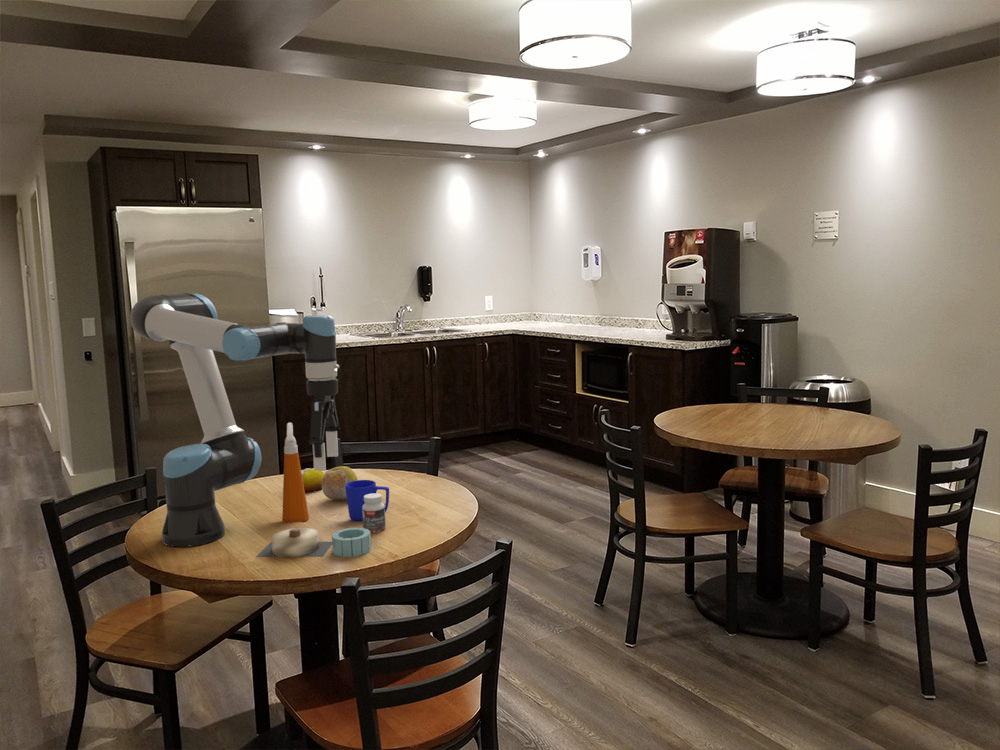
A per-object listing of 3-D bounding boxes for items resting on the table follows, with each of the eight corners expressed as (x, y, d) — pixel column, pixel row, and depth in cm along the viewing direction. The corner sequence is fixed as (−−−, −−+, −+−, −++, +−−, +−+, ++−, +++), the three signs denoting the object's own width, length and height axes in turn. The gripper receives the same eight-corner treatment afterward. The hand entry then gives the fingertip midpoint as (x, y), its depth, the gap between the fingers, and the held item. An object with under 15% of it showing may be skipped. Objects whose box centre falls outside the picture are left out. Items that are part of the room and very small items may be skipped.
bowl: (329, 560, 183) (327, 540, 182) (339, 547, 192) (338, 527, 191) (366, 560, 182) (365, 539, 182) (374, 547, 191) (373, 527, 190)
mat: (256, 560, 184) (255, 556, 184) (271, 545, 194) (271, 542, 194) (322, 560, 183) (322, 556, 183) (334, 545, 193) (334, 541, 193)
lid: (265, 557, 184) (264, 538, 183) (281, 541, 194) (280, 523, 194) (311, 557, 183) (310, 538, 182) (324, 540, 194) (323, 523, 193)
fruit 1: (314, 480, 254) (316, 458, 252) (330, 495, 247) (333, 473, 245) (282, 487, 247) (284, 464, 244) (298, 502, 240) (301, 479, 237)
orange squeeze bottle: (309, 511, 222) (302, 420, 219) (309, 522, 212) (302, 427, 208) (283, 513, 220) (276, 422, 217) (282, 525, 210) (275, 429, 207)
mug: (385, 525, 208) (383, 488, 206) (342, 523, 210) (340, 487, 209) (395, 515, 215) (393, 480, 214) (354, 514, 218) (352, 479, 217)
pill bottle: (366, 538, 198) (364, 500, 197) (361, 531, 203) (358, 494, 202) (388, 534, 200) (386, 496, 199) (382, 528, 205) (380, 491, 204)
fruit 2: (328, 495, 238) (326, 463, 237) (363, 495, 237) (361, 462, 236) (317, 505, 228) (315, 471, 227) (353, 505, 227) (351, 471, 225)
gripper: (325, 385, 179) (330, 475, 182) (347, 371, 204) (351, 450, 207) (292, 386, 180) (298, 476, 182) (319, 372, 204) (323, 451, 207)
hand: (326, 463), depth 195 cm, fingers open, 13 cm apart
